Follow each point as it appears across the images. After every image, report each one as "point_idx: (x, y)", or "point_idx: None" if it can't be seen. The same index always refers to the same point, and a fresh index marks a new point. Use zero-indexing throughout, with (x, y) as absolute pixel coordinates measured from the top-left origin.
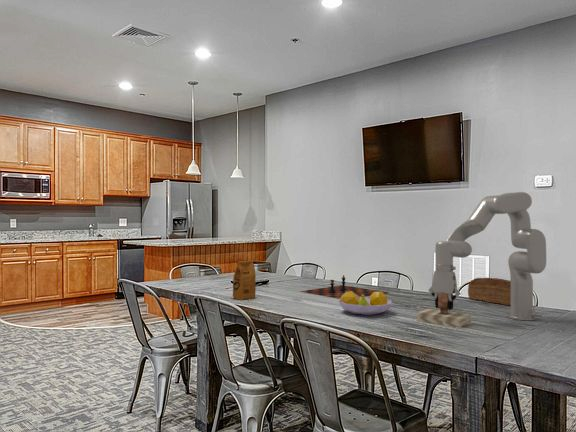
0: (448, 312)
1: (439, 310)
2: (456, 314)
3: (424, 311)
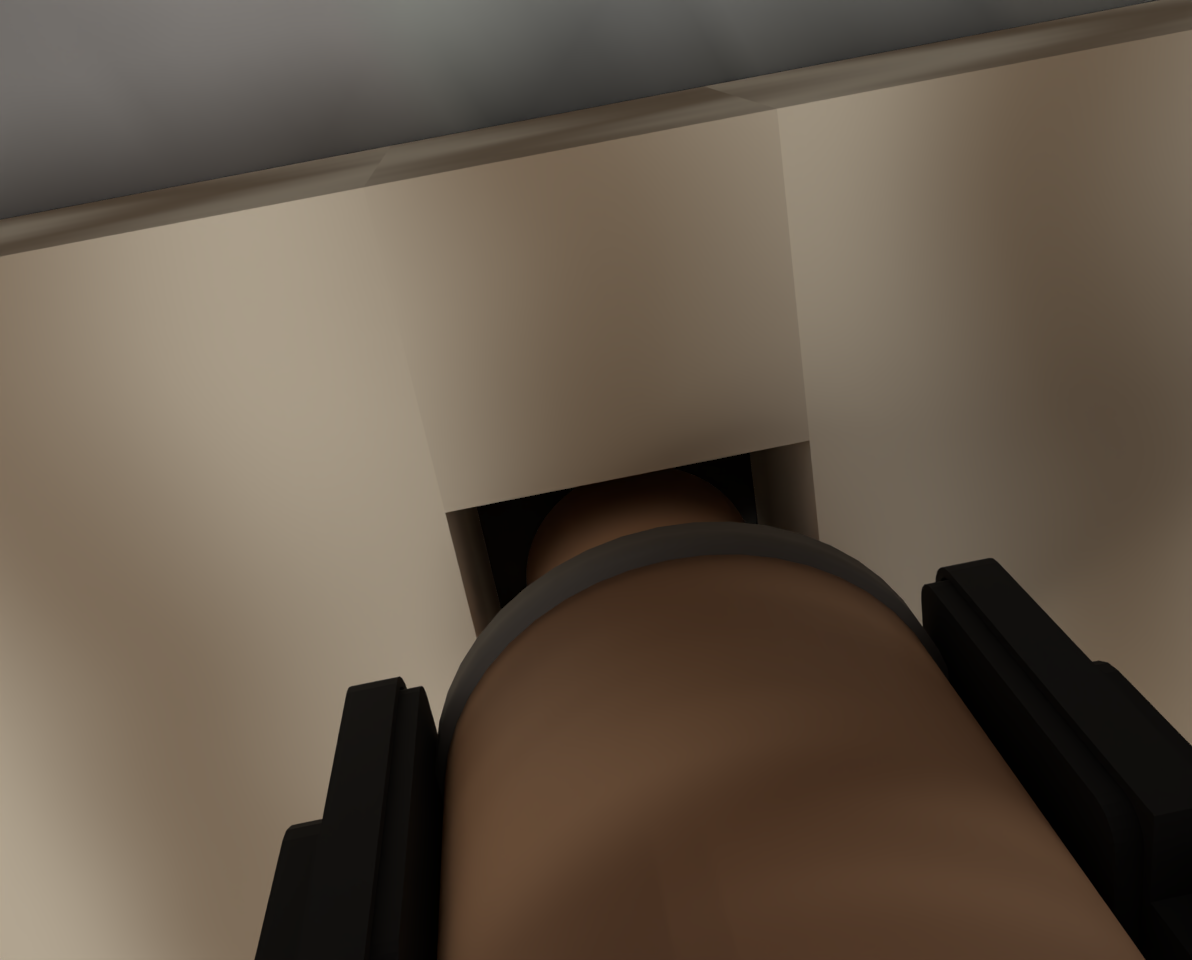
0: (649, 356)
1: (161, 318)
2: (1045, 425)
3: (58, 900)
